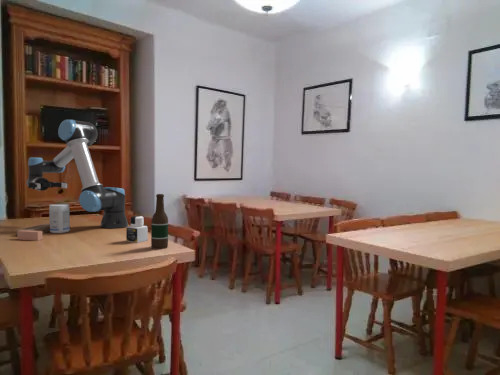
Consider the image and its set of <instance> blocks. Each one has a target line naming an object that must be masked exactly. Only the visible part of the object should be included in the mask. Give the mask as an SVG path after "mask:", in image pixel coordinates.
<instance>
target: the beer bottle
mask: <svg viewBox="0 0 500 375" xmlns="http://www.w3.org/2000/svg"><path fill="white" fill-rule="evenodd" d="M155 197H156V199H155V200H156V202H155V212H154V213H153V215H152V217H151V223H150V225H151V229H150V230H151V234H150V235H151V237H150V238H151V240H150V241H151V242H150V246H151V247H150V248H152V249H154V250H163V249H167V248H169V247H168V246H169V217H168V215H167V214H166V212H165V201H164V199H165V198H164V197H165V194H163V193H157V194H156V195H155Z"/></svg>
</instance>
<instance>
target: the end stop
mask: <svg viewBox="0 0 500 375" xmlns="http://www.w3.org/2000/svg"><path fill="white" fill-rule="evenodd" d="M16 237H17V240H24V241H41V240H43V233H42V231H31V230H20V231H17V236H16Z"/></svg>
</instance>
